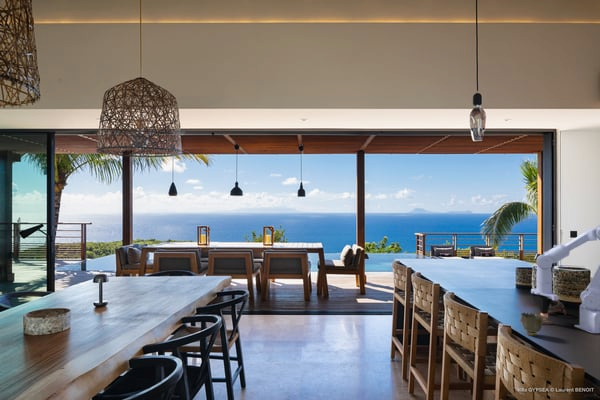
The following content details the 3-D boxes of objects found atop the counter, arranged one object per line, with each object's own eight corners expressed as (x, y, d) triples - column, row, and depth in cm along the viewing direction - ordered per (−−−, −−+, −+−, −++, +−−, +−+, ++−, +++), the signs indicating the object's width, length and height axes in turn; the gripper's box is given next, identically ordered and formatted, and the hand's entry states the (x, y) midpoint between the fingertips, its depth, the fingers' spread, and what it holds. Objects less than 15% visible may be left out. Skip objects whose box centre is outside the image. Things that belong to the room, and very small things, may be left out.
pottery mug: (572, 317, 178) (566, 303, 176) (552, 325, 179) (546, 311, 178) (556, 305, 190) (551, 291, 188) (538, 312, 191) (532, 299, 189)
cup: (522, 330, 155) (522, 311, 156) (544, 334, 151) (544, 314, 151) (519, 335, 150) (519, 314, 150) (541, 339, 145) (541, 318, 145)
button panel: (551, 324, 165) (551, 321, 165) (527, 324, 164) (527, 321, 164) (544, 321, 170) (543, 318, 170) (520, 321, 169) (520, 318, 169)
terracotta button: (549, 318, 166) (549, 314, 166) (543, 318, 166) (543, 314, 166) (545, 316, 169) (545, 312, 169) (538, 316, 169) (538, 312, 169)
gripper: (524, 279, 175) (524, 308, 175) (546, 285, 160) (546, 317, 160) (539, 279, 175) (539, 308, 175) (562, 285, 161) (562, 317, 160)
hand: (544, 313), depth 167 cm, fingers closed
